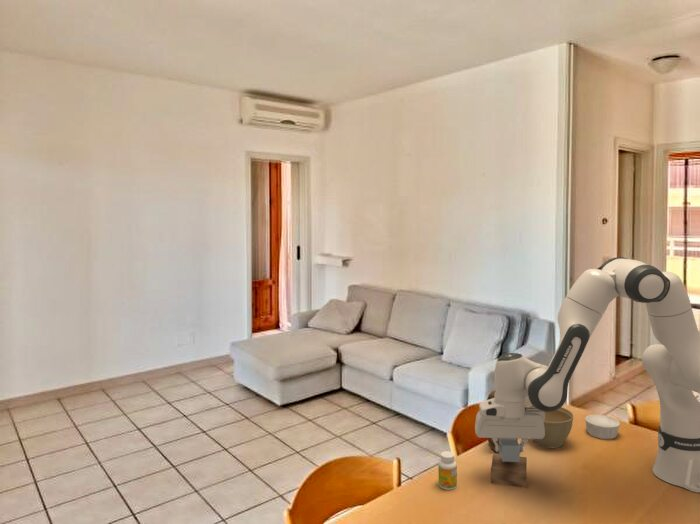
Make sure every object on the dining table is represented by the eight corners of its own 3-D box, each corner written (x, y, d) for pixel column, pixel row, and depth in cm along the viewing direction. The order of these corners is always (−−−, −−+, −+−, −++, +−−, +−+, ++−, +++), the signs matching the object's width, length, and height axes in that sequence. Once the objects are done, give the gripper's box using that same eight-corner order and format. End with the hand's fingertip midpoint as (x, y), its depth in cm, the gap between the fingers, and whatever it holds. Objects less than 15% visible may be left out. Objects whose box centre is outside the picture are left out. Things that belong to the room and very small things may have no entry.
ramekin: (626, 438, 181) (627, 424, 181) (600, 443, 178) (600, 428, 178) (603, 426, 192) (603, 412, 192) (578, 430, 189) (578, 416, 189)
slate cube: (515, 454, 158) (516, 438, 158) (519, 462, 153) (519, 445, 153) (499, 453, 159) (499, 438, 158) (502, 461, 154) (502, 445, 153)
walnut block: (526, 472, 160) (526, 457, 159) (526, 489, 151) (526, 472, 150) (493, 468, 163) (493, 453, 163) (491, 483, 154) (491, 468, 153)
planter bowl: (517, 432, 188) (518, 404, 187) (562, 432, 187) (563, 403, 186) (531, 453, 172) (531, 422, 171) (580, 453, 171) (581, 421, 170)
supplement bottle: (434, 485, 153) (434, 453, 152) (446, 478, 157) (446, 448, 156) (449, 492, 149) (448, 460, 148) (460, 485, 153) (460, 454, 152)
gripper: (542, 403, 157) (541, 447, 158) (474, 402, 159) (474, 445, 160) (548, 411, 150) (547, 456, 152) (477, 410, 153) (476, 454, 154)
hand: (509, 451), depth 156 cm, fingers closed on slate cube, 5 cm apart
